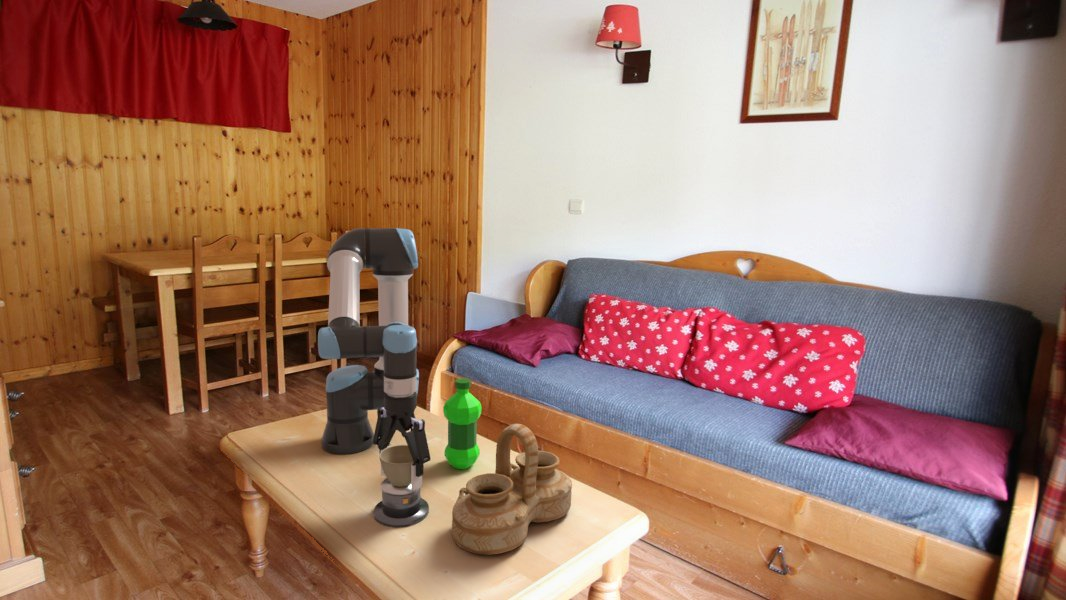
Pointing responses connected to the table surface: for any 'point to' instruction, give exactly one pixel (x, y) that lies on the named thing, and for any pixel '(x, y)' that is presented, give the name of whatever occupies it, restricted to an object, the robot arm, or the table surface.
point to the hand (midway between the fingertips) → (401, 480)
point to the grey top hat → (400, 506)
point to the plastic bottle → (462, 426)
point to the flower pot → (397, 464)
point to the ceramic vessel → (510, 497)
